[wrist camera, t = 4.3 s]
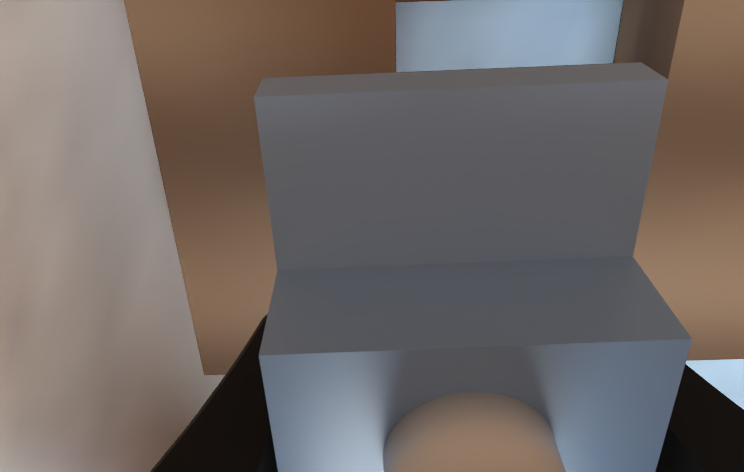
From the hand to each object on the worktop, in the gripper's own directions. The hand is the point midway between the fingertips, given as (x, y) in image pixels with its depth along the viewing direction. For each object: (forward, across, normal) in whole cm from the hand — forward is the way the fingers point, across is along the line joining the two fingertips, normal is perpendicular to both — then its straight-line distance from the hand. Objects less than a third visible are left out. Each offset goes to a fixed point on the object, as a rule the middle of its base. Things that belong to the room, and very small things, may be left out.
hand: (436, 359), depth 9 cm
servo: (+2, 0, 0) cm, 2 cm away
